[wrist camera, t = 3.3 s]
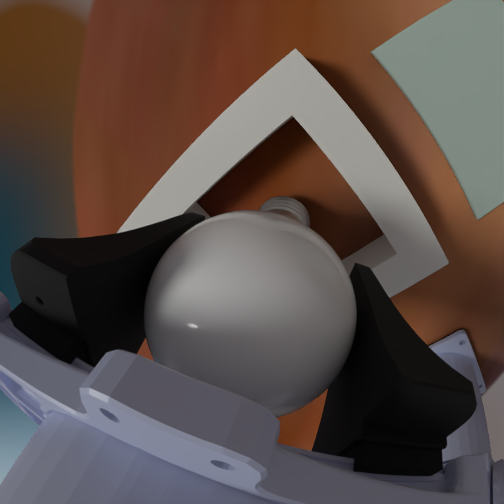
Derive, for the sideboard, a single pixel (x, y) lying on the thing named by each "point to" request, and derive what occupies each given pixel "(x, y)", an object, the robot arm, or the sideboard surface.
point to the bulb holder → (336, 149)
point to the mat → (458, 90)
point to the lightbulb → (253, 306)
